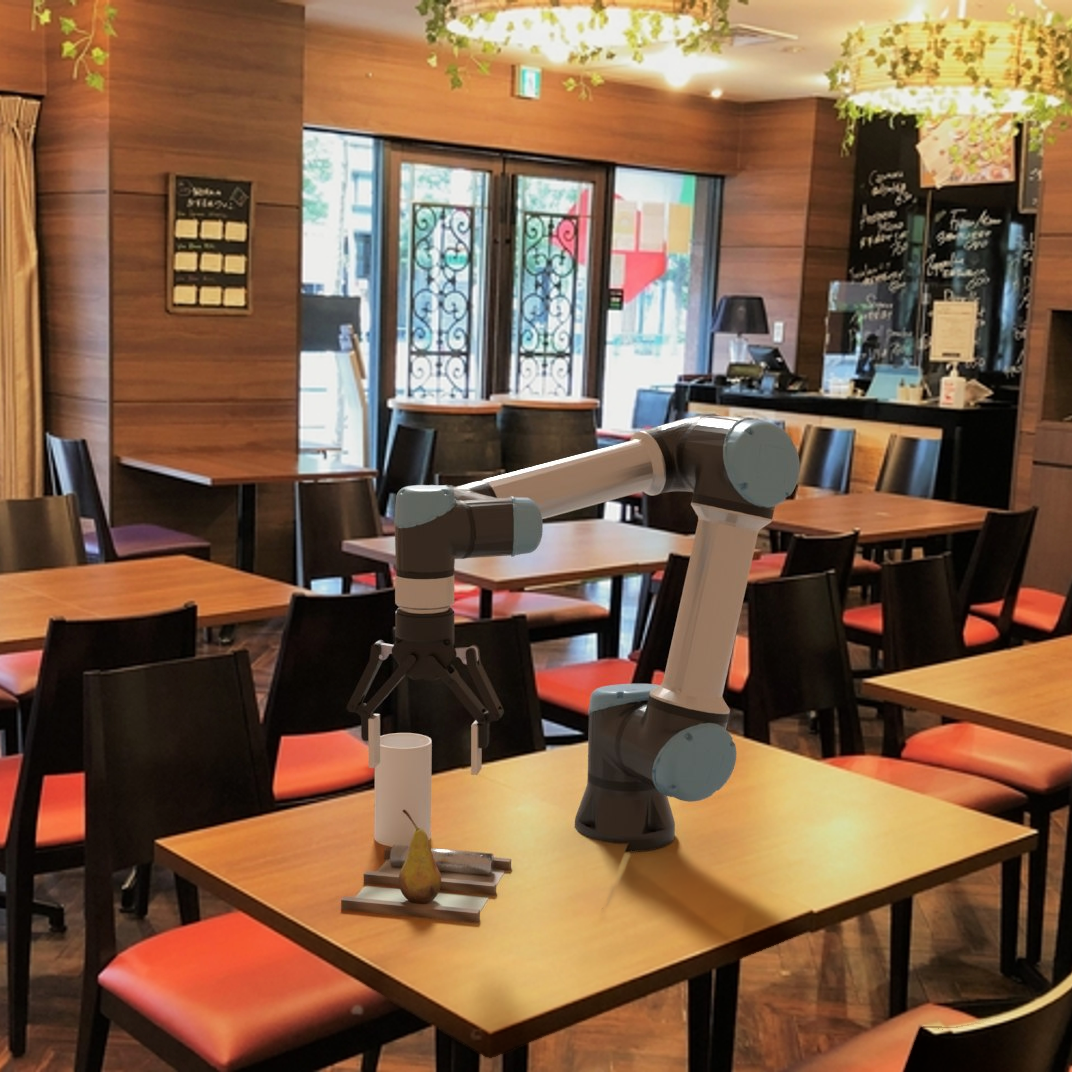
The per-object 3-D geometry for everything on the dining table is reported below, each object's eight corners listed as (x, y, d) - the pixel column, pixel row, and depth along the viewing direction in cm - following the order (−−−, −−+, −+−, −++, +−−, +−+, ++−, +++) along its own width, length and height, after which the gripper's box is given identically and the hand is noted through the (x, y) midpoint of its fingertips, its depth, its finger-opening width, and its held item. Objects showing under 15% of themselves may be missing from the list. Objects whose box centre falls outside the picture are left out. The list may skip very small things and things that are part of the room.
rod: (490, 880, 205) (494, 861, 207) (488, 867, 203) (492, 849, 205) (392, 870, 208) (397, 852, 210) (388, 858, 206) (393, 840, 208)
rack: (510, 876, 209) (511, 858, 208) (477, 932, 189) (477, 913, 189) (386, 865, 212) (386, 847, 212) (341, 919, 193) (341, 899, 192)
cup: (421, 858, 215) (422, 750, 213) (367, 853, 217) (367, 745, 214) (436, 839, 223) (438, 735, 221) (384, 834, 225) (384, 731, 222)
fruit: (407, 912, 192) (407, 822, 190) (392, 896, 197) (393, 808, 195) (448, 906, 194) (449, 817, 192) (432, 891, 199) (433, 803, 197)
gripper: (526, 606, 192) (525, 766, 196) (340, 597, 197) (341, 754, 200) (515, 617, 185) (513, 783, 188) (321, 608, 190) (323, 770, 193)
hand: (425, 768), depth 194 cm, fingers open, 13 cm apart
